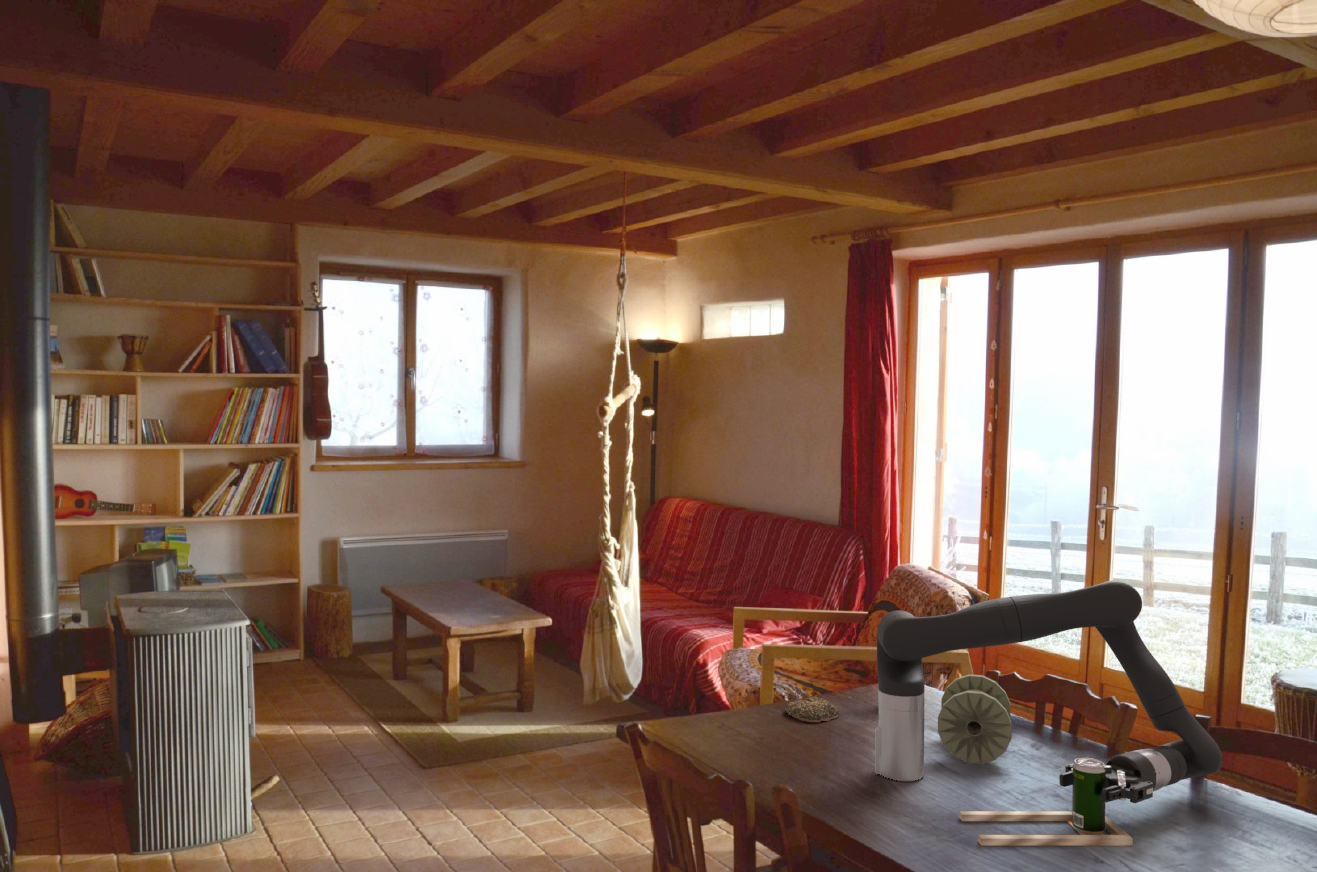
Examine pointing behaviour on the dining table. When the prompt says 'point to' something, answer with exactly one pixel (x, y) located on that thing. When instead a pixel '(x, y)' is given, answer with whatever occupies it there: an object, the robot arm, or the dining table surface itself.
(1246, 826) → the dining table surface
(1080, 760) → the beer can
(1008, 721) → the spool
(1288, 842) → the dining table surface
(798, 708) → the speckled domed shell
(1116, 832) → the frame
